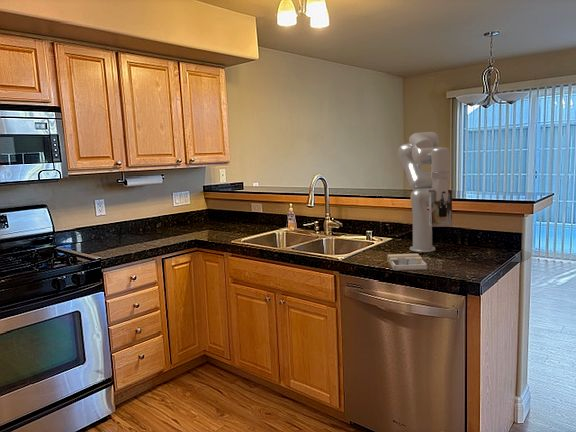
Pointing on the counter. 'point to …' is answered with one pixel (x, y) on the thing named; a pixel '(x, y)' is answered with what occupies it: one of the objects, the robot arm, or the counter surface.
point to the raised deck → (394, 257)
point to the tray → (409, 266)
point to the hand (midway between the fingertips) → (440, 215)
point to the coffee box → (434, 210)
